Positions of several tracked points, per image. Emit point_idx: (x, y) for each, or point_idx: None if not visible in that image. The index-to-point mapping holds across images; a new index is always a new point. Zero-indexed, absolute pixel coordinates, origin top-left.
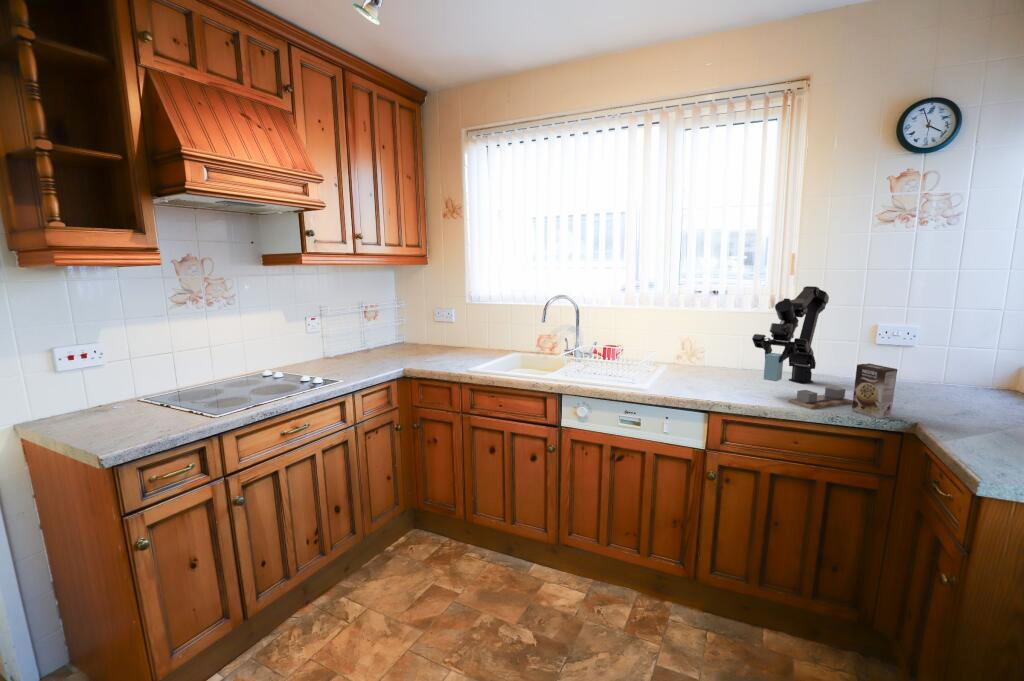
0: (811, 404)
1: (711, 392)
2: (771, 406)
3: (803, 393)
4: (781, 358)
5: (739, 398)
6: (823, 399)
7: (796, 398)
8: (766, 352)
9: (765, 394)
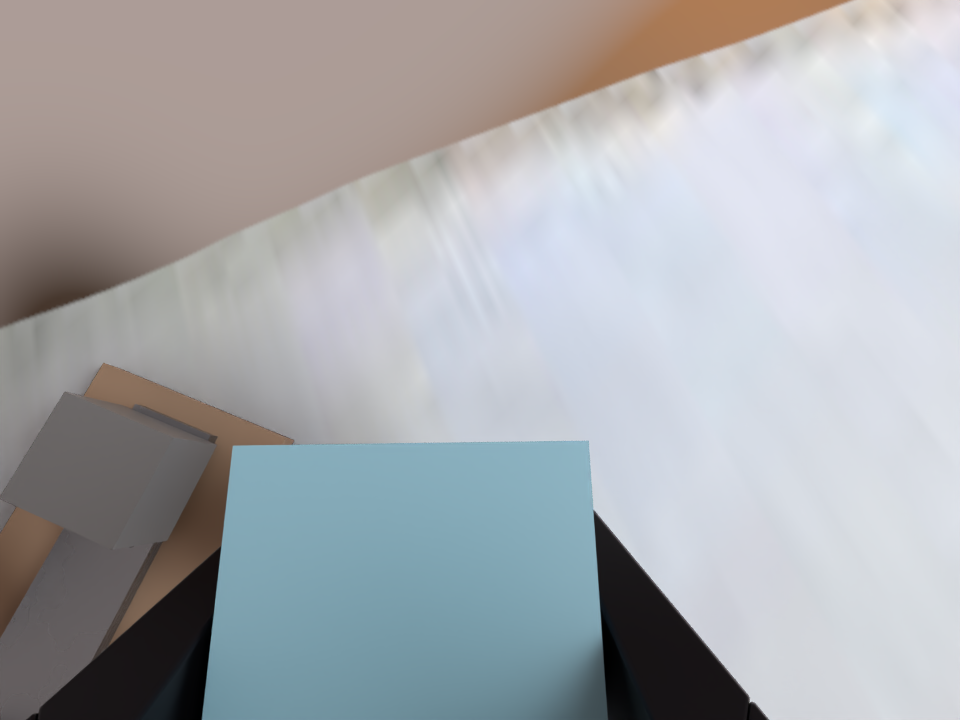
0: None
1: (816, 273)
2: (350, 240)
3: (120, 413)
4: (211, 559)
5: (592, 270)
6: (24, 613)
7: None
8: (666, 660)
9: None
